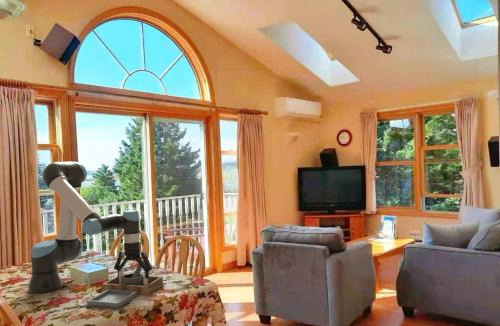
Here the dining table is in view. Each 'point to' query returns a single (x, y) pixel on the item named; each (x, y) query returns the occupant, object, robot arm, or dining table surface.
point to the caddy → (152, 285)
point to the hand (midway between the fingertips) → (133, 284)
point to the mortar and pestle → (133, 277)
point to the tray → (112, 299)
